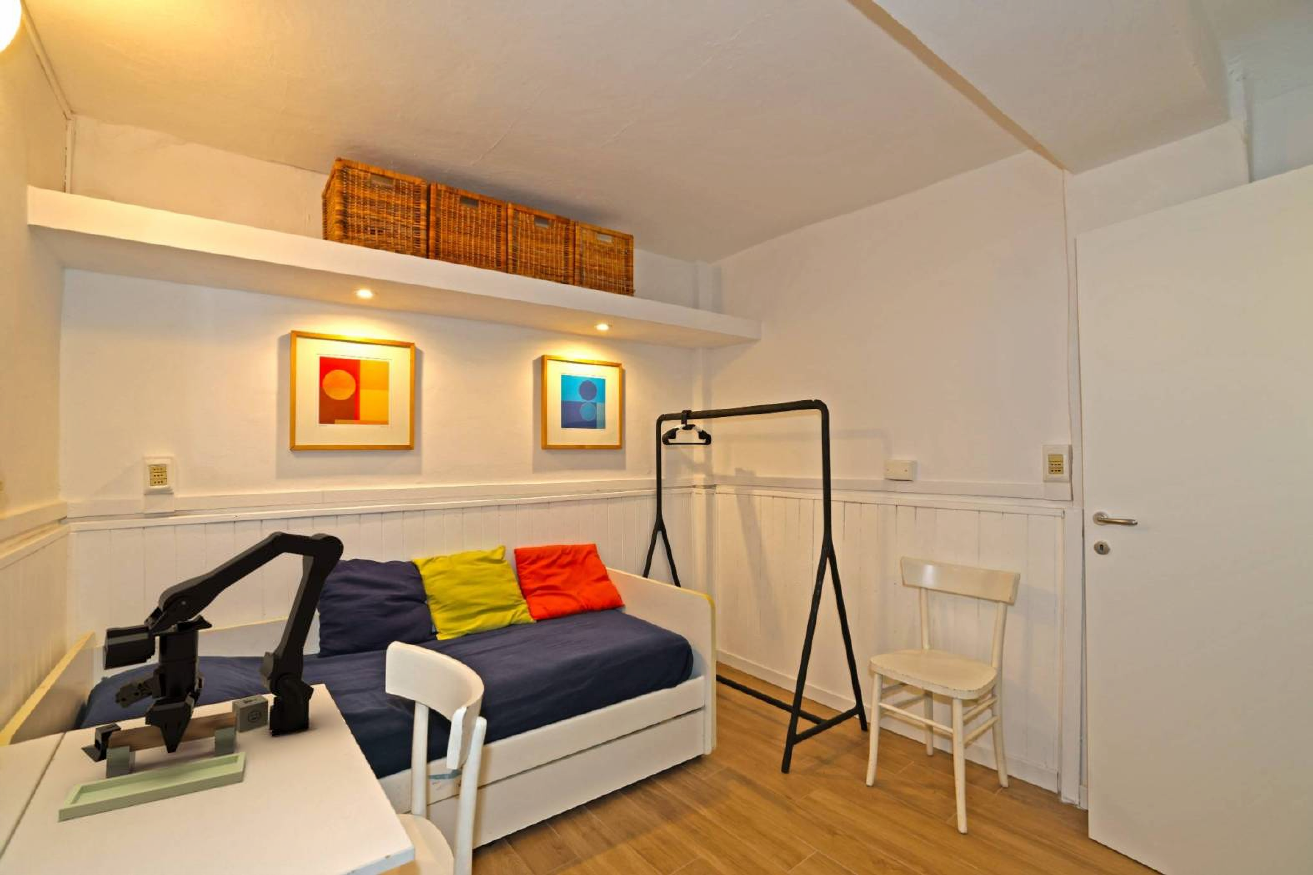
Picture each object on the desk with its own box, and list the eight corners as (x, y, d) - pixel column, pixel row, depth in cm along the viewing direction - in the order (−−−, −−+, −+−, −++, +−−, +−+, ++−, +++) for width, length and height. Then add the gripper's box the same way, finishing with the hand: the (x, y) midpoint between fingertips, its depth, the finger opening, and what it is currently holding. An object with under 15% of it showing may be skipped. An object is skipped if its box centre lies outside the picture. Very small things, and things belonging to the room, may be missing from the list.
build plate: (142, 754, 114) (143, 729, 114) (90, 770, 108) (91, 744, 108) (121, 736, 121) (122, 713, 121) (71, 750, 115) (72, 725, 115)
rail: (236, 726, 117) (236, 710, 117) (234, 732, 114) (235, 716, 114) (112, 748, 108) (113, 731, 108) (108, 756, 105) (108, 738, 105)
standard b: (135, 762, 110) (136, 733, 110) (128, 775, 106) (129, 745, 106) (113, 766, 108) (114, 737, 109) (105, 779, 104) (106, 749, 104)
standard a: (236, 742, 118) (236, 716, 118) (233, 754, 113) (234, 726, 113) (217, 746, 116) (217, 719, 116) (213, 758, 112) (214, 730, 112)
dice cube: (231, 725, 125) (232, 701, 125) (259, 717, 129) (260, 693, 129) (239, 733, 122) (240, 707, 122) (267, 724, 126) (268, 700, 126)
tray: (245, 760, 111) (245, 751, 111) (242, 781, 104) (242, 771, 104) (74, 795, 99) (75, 784, 99) (58, 821, 92) (58, 809, 92)
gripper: (132, 649, 115) (129, 732, 115) (106, 680, 99) (103, 778, 99) (205, 640, 121) (203, 720, 121) (192, 669, 105) (189, 761, 104)
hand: (175, 743), depth 111 cm, fingers open, 8 cm apart
